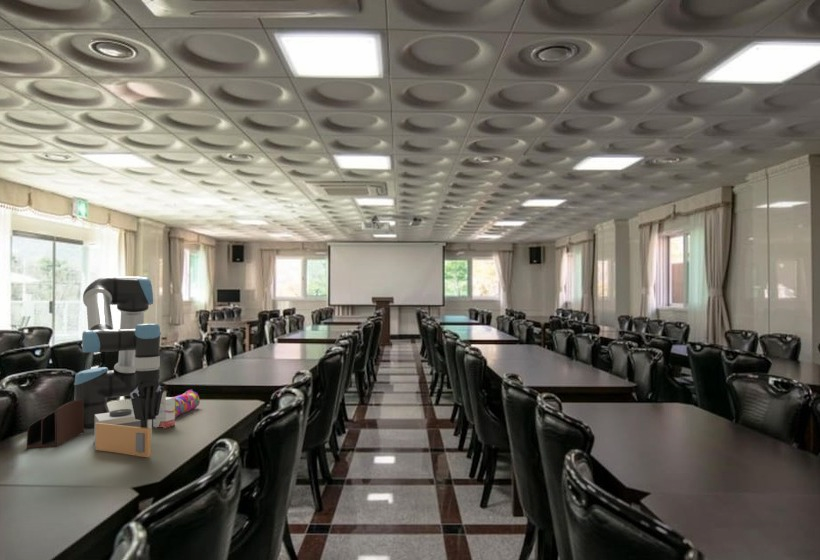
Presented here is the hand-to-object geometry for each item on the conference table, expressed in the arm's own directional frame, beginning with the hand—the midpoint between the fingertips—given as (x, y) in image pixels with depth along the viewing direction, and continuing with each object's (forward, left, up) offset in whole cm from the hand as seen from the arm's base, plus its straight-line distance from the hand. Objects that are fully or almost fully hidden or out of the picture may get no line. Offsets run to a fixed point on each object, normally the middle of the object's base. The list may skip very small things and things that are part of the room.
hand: (146, 439), depth 167 cm
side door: (-5, -7, -5) cm, 10 cm away
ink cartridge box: (-37, +13, -5) cm, 40 cm away
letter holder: (-41, -23, -6) cm, 48 cm away
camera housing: (-23, -5, -5) cm, 24 cm away
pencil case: (-59, +25, -5) cm, 64 cm away
